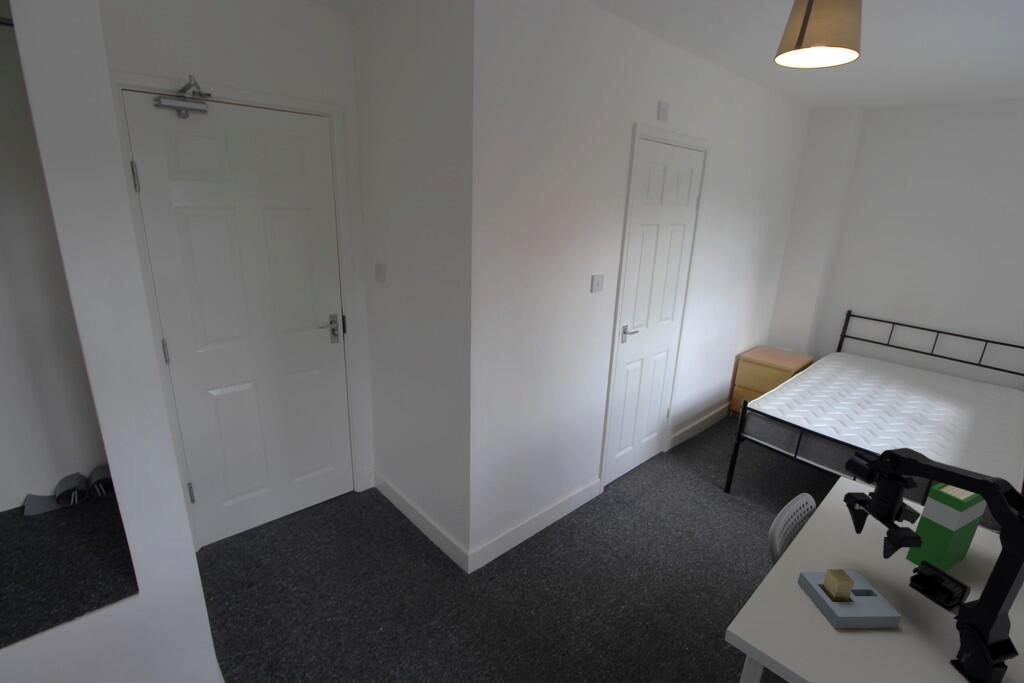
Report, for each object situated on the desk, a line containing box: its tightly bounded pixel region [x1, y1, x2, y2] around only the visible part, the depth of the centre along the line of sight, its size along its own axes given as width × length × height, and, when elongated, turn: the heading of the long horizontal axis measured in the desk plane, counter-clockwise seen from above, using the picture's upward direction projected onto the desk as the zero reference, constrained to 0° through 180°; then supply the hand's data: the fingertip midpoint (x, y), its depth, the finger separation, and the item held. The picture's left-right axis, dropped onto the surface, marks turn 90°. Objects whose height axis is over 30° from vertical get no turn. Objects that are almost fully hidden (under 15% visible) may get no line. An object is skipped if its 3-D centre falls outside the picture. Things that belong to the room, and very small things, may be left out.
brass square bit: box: [822, 568, 855, 602], centre depth 118 cm, size 4×4×9 cm
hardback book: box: [905, 482, 988, 572], centre depth 134 cm, size 18×7×24 cm, turn 117°
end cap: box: [908, 560, 972, 612], centre depth 123 cm, size 10×7×7 cm
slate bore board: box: [797, 571, 902, 629], centre depth 119 cm, size 14×16×4 cm
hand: (871, 545), depth 123 cm, fingers open, 9 cm apart
